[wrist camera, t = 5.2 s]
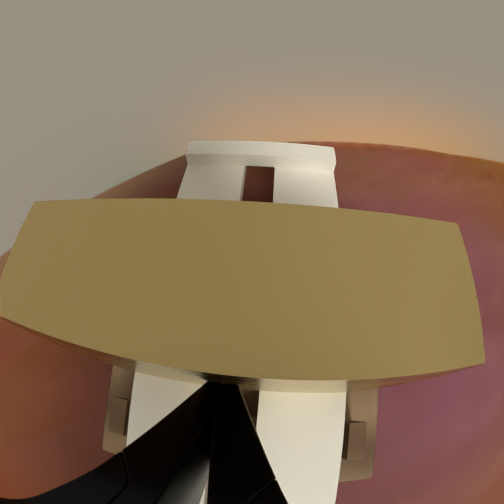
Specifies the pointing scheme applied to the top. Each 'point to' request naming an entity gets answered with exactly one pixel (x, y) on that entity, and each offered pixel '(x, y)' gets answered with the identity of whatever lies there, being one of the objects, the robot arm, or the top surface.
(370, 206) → the top surface
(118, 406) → the beam stand
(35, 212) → the block
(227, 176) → the white twin rails
